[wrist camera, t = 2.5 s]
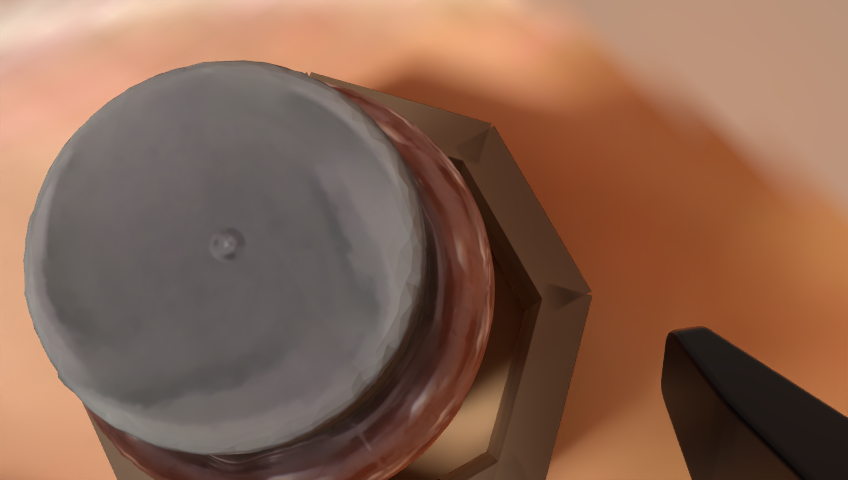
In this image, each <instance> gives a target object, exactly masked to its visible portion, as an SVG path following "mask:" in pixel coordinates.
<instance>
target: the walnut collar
mask: <svg viewBox="0 0 848 480" xmlns="http://www.w3.org/2000/svg"><path fill="white" fill-rule="evenodd" d="M305 74H306V75H308V74H307V73H305ZM310 77H312V78H315V79H317V80H320V81H322V82H327V83H330V84H333V85H337V86H340V87H344V88H349V89H351V90H354V91H356V92H359V93H361V94H363V95H365V96H368V97H370V98H372V99H374V100H376V101H378V102H380V103H383V104H385V105H387V106H388V107H390V108H392V109H393V110H394V111H396V112H397V113H399V114H400V115H402V116H404V117H405V118H406V119H407V120H409V121H410V122H412V123H413V124H415V125H416V126H417V127H418V128H419V129H420V130H422V131H423V132H424V133H425V134H426V135H427V136H428V137H430V138H431V139H432V140H433V141H434V142H435V143H436V144H437V145H438V146H439V148H440V149H441V150H442V151H443V152H444V153H445V154H446V155H447V157H448V158H449V159H450V160H451V161H452V163H453V164H454V166H455V167H456V169H457V170H458V171H459V172H460V174H461V176H462V177H463V179H464V181H465V183H466V185H467V187H468V188H469V190H470V191H471V193H472V196H473V198H474V200H475V202H476V204H477V206H478V208H479V211H480V214H481V216H482V219H483V222H484V225H485V229H486V233H487V237H488V241H489V245H490V250H491V252H492V253H493V255H494V257H495V259H496V260H497V262H498V264H499V266H500V267H501V269H502V271H503V273H504V274H505V276H506V278H507V280H508V281H509V283H510V285H511V287H512V289H513V290H514V292H515V294H516V296H517V297H518V299H519V301H520V303H521V304H522V306H523V308H524V310H525V313H524V317H523V321H522V324H521V328H520V332H519V335H518V339H517V343H516V346H515V350H514V354H513V358H512V361H511V365H510V369H509V372H508V376H507V380H506V384H505V387H504V391H503V395H502V398H501V402H500V406H499V409H498V413H497V417H496V421H495V424H494V428H493V432H492V435H491V439H490V443H489V446H488V450H487V452H486V453H484V454H482V455H480V456H479V457H477V458H475V459H473V460H472V461H470V462H468V463H466V464H465V465H463V466H461V467H459V468H458V469H456V470H454V471H452V472H451V473H449V474H447V475H445V476H444V477H442V478H440V479H438V480H545V479H546V475H547V471H548V468H549V464H550V460H551V456H552V452H553V448H554V444H555V440H556V436H557V432H558V428H559V424H560V420H561V416H562V412H563V408H564V404H565V400H566V396H567V393H568V389H569V385H570V381H571V377H572V373H573V369H574V365H575V361H576V357H577V353H578V349H579V345H580V341H581V337H582V333H583V329H584V325H585V322H586V318H587V314H588V310H589V306H590V302H591V298H592V296H590V295H587V293H589V292H591V290H590V288H589V287H588V285H587V283H586V282H585V280H584V278H583V276H582V275H581V273H580V271H579V270H578V268H577V266H576V264H575V263H574V261H573V259H572V258H571V256H570V254H569V253H568V251H567V249H566V247H565V246H564V244H563V242H562V241H561V239H560V237H559V235H558V234H557V232H556V230H555V229H554V227H553V225H552V224H551V222H550V220H549V218H548V217H547V215H546V213H545V212H544V210H543V208H542V207H541V205H540V203H539V201H538V200H537V198H536V196H535V195H534V193H533V191H532V189H531V188H530V186H529V184H528V183H527V181H526V179H525V178H524V176H523V174H522V172H521V171H520V169H519V167H518V166H517V164H516V162H515V161H514V159H513V157H512V155H511V154H510V152H509V150H508V149H507V147H506V145H505V143H504V142H503V140H502V138H501V137H500V135H499V133H498V132H497V130H496V128H495V126H494V127H492V128H490V125H491V123H487V122H484V121H480V120H477V119H473V118H470V117H466V116H463V115H459V114H456V113H452V112H449V111H445V110H442V109H438V108H435V107H431V106H428V105H424V104H421V103H417V102H414V101H410V100H407V99H403V98H400V97H396V96H393V95H389V94H386V93H382V92H379V91H375V90H372V89H368V88H365V87H361V86H358V85H354V84H351V83H347V82H344V81H340V80H337V79H333V78H330V77H326V76H323V75H319V74H316V73H312V72H311V74H310ZM489 128H490V129H489ZM86 411H87V410H86ZM87 413H88V412H87ZM88 415H89V418H90V420H91V422H92V424H93V426H94V429H95V431H96V433H97V435H98V438H99V440H100V442H101V444H102V446H103V449H104V451H105V453H106V455H107V458H108V460H109V462H110V464H111V467H112V469H113V471H114V473H115V475H116V478H117V480H155V479H153V478H152V477H150V476H149V475H147V474H146V473H144V472H143V471H141V470H140V469H139V468H138V467H137V466H135V465H134V464H133V463H132V462H131V461H129V460H128V459H127V458H125V457H124V456H122V455H121V454H120V453H119V452H118V450H117V449H116V448H115V446H114V444H113V443H112V442H111V441H110V440H109V439H108V438H107V436H106V435H105V434H104V433H103V432H102V431H101V430H100V429H99V427H98V426H97V424H96V423H95V421H94V420H93V418H92V417H91V416H90V414H89V413H88Z"/></svg>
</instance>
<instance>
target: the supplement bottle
mask: <svg viewBox="0 0 848 480" xmlns="http://www.w3.org/2000/svg"><path fill="white" fill-rule="evenodd" d="M24 272H25V297H26V300H27V305H28V309H29V313H30V315H31V318H32V321H33V325H34V329H35V331H36V333H37V335H38V337H39V339H40V341H41V343H42V346H43V348H44V350H45V352H46V354H47V356H48V357H49V359H50V361H51V363H52V364H53V366H54V367H55V368H56V370H57V371H58V378H59V379H60V380H61V381H62V382H63V384H64V385H65V386H66V387H68V388H69V389H70V390H71V391H73V392H74V393H75V394H76V395H77V396H78V398H79V399H80V400H81V401H82V403H83V405H84V407H85V409H86V410H87V412H88V413H89V414H90V416H91V417H92V418H93V420H94V421H95V423H96V424H97V426H98V427H99V429H100V430H101V431H102V432H103V433H104V434H105V435H106V436H107V438H108V439H109V440H110V441H111V442H112V443H113V444H114V446H115V448H116V449H117V450H118V452H119V453H120V454H121V455H122V456H124V457H125V458H127V459H128V460H129V461H131V462H132V463H133V464H134V465H135V466H137V467H138V468H139V469H140V470H141V471H143V472H144V473H146V474H147V475H149V476H150V477H152V478H153V479H155V480H388V479H389V478H391V477H392V476H394V475H395V474H397V473H398V472H399V471H401V470H402V469H404V468H405V467H407V466H408V465H409V464H410V463H412V462H413V461H414V460H415V459H416V458H418V457H419V456H420V455H421V454H423V453H424V452H425V451H426V450H427V449H428V448H429V447H430V446H431V445H432V444H433V443H434V442H435V440H436V439H437V438H438V437H439V436H440V435H441V433H442V432H443V431H444V430H445V429H446V428H447V426H448V425H449V424H450V423H451V421H452V420H453V418H454V417H455V415H456V414H457V412H458V411H459V409H460V407H461V405H462V403H463V401H464V399H465V398H466V396H467V394H468V392H469V390H470V388H471V386H472V384H473V382H474V379H475V377H476V374H477V372H478V369H479V367H480V364H481V361H482V359H483V356H484V353H485V350H486V346H487V342H488V338H489V334H490V329H491V323H492V318H493V309H494V293H495V284H494V269H493V262H492V256H491V250H490V245H489V241H488V237H487V233H486V229H485V225H484V222H483V219H482V216H481V214H480V211H479V208H478V206H477V204H476V202H475V200H474V198H473V196H472V193H471V191H470V190H469V188H468V187H467V185H466V183H465V181H464V179H463V177H462V176H461V174H460V172H459V171H458V170H457V169H456V167H455V166H454V164H453V163H452V161H451V160H450V159H449V158H448V157H447V155H446V154H445V153H444V152H443V151H442V150H441V149H440V148H439V146H438V145H437V144H436V143H435V142H434V141H433V140H432V139H431V138H430V137H428V136H427V135H426V134H425V133H424V132H423V131H422V130H420V129H419V128H418V127H417V126H416V125H415V124H413V123H412V122H410V121H409V120H407V119H406V118H405V117H404V116H402V115H400V114H399V113H397V112H396V111H394V110H393V109H392V108H390V107H388V106H387V105H385V104H383V103H380V102H378V101H376V100H374V99H372V98H370V97H368V96H365V95H363V94H361V93H359V92H356V91H354V90H351V89H349V88H344V87H340V86H337V85H333V84H330V83H327V82H322V81H320V80H317V79H315V78H312V77H310V76H308V75H306V74H304V73H302V72H298V71H293V70H291V69H288V68H286V67H282V66H278V65H274V64H270V63H265V62H253V61H220V62H203V63H199V64H195V65H192V66H188V67H183V68H178V69H174V70H171V71H168V72H165V73H162V74H159V75H156V76H154V77H152V78H149V79H147V80H145V81H143V82H142V83H140V84H137V85H135V86H133V87H130V88H129V89H127V90H126V91H125V92H123V93H122V94H120V95H119V96H117V97H116V98H114V99H112V100H111V101H109V102H108V103H107V104H105V105H104V106H103V107H102V108H101V109H100V110H98V111H97V112H96V113H95V114H94V115H93V116H91V117H90V118H89V120H88V121H87V122H86V123H85V124H84V125H83V126H81V127H80V128H79V129H78V130H77V131H76V133H75V134H74V135H73V136H72V137H71V138H70V139H69V140H68V142H67V143H66V144H65V145H64V147H63V148H62V150H61V151H60V153H59V154H58V156H57V158H56V159H55V161H54V162H53V164H52V166H51V167H50V169H49V171H48V173H47V175H46V177H45V180H44V182H43V185H42V187H41V189H40V192H39V194H38V197H37V200H36V204H35V207H34V211H33V213H32V214H31V216H30V219H29V223H28V229H27V235H26V242H25V253H24Z"/></svg>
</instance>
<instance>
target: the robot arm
mask: <svg viewBox="0 0 848 480" xmlns="http://www.w3.org/2000/svg"><path fill="white" fill-rule="evenodd" d="M661 388H662V394H663V399H664V402H665V405H666V408H667V410H668V413H669V416H670V419H671V422H672V425H673V428H674V430H675V433H676V436H677V439H678V442H679V445H680V448H681V450H682V453H683V456H684V459H685V462H686V465H687V468H688V471H689V473H690V476H691V479H692V480H848V418H847V417H846V416H844V415H843V414H841V413H840V412H838V411H837V410H835V409H833V408H832V407H830V406H829V405H827V404H826V403H824V402H822V401H821V400H819V399H818V398H816V397H815V396H813V395H812V394H810V393H808V392H807V391H805V390H804V389H802V388H801V387H799V386H797V385H796V384H794V383H793V382H791V381H790V380H788V379H787V378H785V377H783V376H782V375H780V374H779V373H777V372H776V371H774V370H773V369H771V368H769V367H768V366H766V365H765V364H763V363H762V362H760V361H758V360H757V359H755V358H754V357H752V356H751V355H749V354H748V353H746V352H744V351H743V350H741V349H740V348H738V347H737V346H735V345H733V344H732V343H730V342H729V341H727V340H726V339H724V338H723V337H721V336H719V335H718V334H716V333H715V332H713V331H712V330H710V329H708V328H706V327H702V326H697V327H691V328H684V329H677V330H673V331H671V332H670V333H669V334H668V336H667V338H666V344H665V352H664V361H663V369H662V377H661Z"/></svg>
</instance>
